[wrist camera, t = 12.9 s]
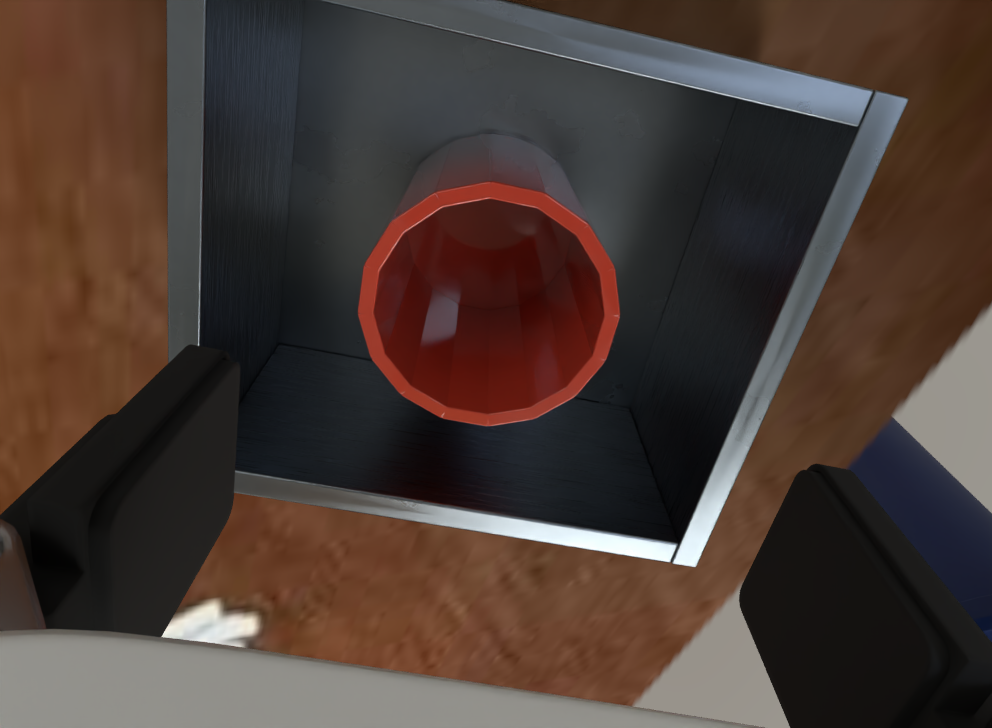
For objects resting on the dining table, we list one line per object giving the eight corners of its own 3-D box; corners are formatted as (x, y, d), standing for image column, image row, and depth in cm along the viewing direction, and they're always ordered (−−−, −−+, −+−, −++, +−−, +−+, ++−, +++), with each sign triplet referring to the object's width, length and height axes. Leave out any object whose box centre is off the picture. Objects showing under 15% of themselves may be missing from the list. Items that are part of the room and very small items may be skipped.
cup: (601, 156, 23) (652, 216, 16) (555, 326, 26) (580, 443, 18) (413, 114, 22) (377, 157, 15) (387, 294, 25) (345, 402, 18)
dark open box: (760, 72, 23) (910, 98, 14) (637, 414, 28) (696, 568, 20) (289, -42, 21) (164, -83, 13) (264, 346, 27) (168, 483, 19)
